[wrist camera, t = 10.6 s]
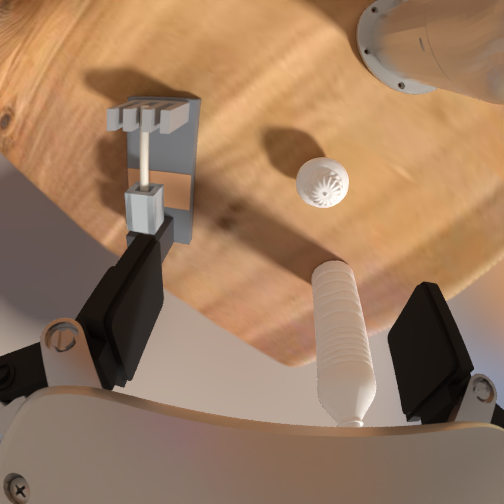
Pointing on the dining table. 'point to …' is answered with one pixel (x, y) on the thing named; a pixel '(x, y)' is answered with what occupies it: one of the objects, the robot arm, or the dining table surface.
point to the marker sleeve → (145, 208)
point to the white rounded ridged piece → (322, 182)
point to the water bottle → (341, 345)
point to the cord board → (162, 157)
